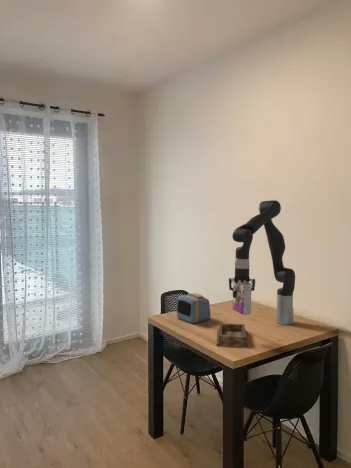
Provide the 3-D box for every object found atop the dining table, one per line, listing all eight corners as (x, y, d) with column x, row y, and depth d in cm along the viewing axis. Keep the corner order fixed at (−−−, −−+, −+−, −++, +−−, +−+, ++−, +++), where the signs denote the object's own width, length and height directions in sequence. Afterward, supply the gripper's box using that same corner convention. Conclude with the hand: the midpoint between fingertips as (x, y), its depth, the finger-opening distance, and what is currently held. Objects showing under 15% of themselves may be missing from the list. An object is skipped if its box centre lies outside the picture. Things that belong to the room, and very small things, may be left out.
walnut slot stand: (245, 331, 221) (245, 323, 220) (248, 346, 197) (248, 338, 197) (217, 330, 223) (217, 322, 222) (216, 345, 199) (216, 337, 198)
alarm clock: (175, 318, 246) (175, 293, 244) (195, 313, 256) (195, 289, 254) (191, 324, 233) (191, 298, 231) (212, 319, 243) (212, 294, 241)
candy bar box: (232, 309, 211) (232, 279, 210) (240, 308, 213) (240, 279, 211) (242, 315, 201) (243, 283, 199) (251, 314, 202) (252, 283, 201)
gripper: (255, 266, 208) (254, 296, 209) (228, 265, 209) (227, 296, 211) (256, 268, 200) (256, 300, 202) (228, 267, 202) (228, 299, 203)
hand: (241, 298), depth 206 cm, fingers closed on candy bar box, 6 cm apart
